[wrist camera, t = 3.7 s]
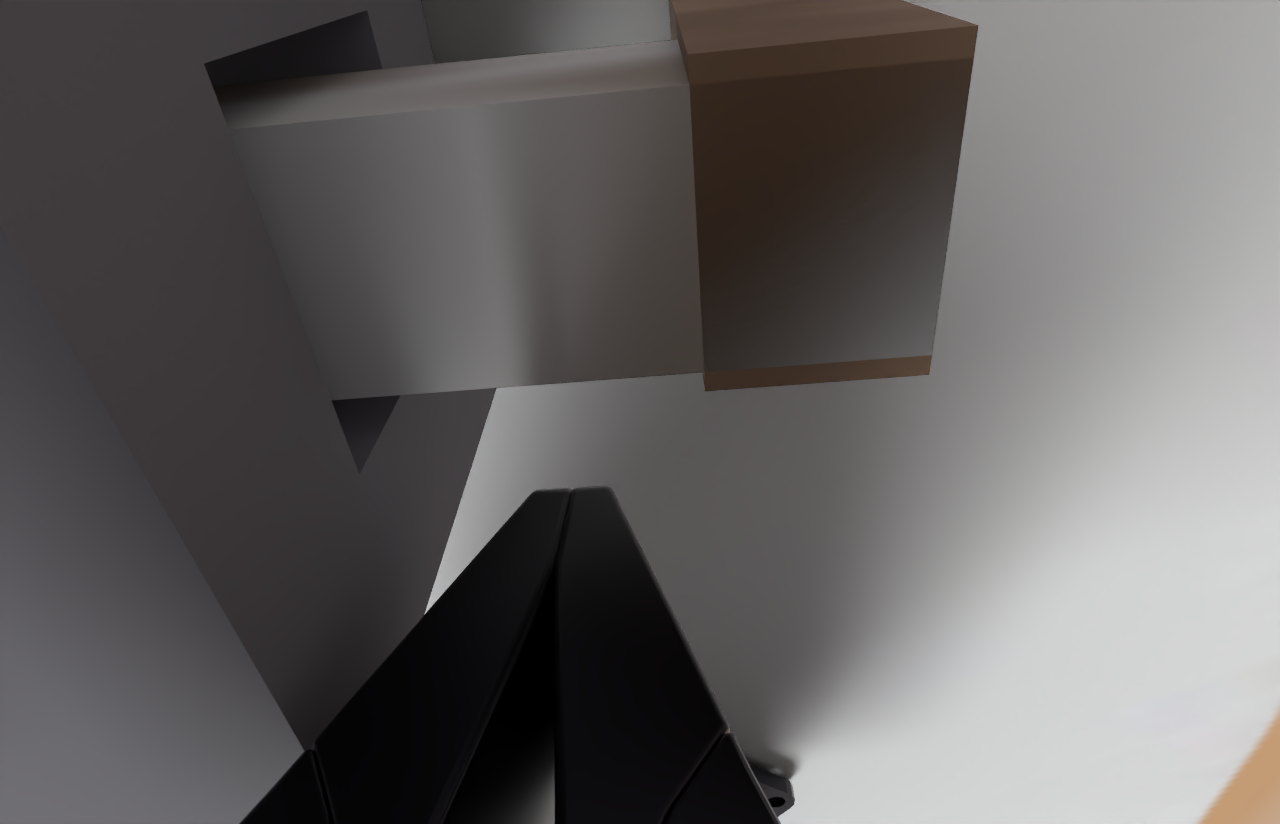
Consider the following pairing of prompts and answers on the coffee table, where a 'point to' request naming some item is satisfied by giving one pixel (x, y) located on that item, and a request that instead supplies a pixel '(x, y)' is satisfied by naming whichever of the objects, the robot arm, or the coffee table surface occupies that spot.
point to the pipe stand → (624, 203)
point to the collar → (186, 424)
